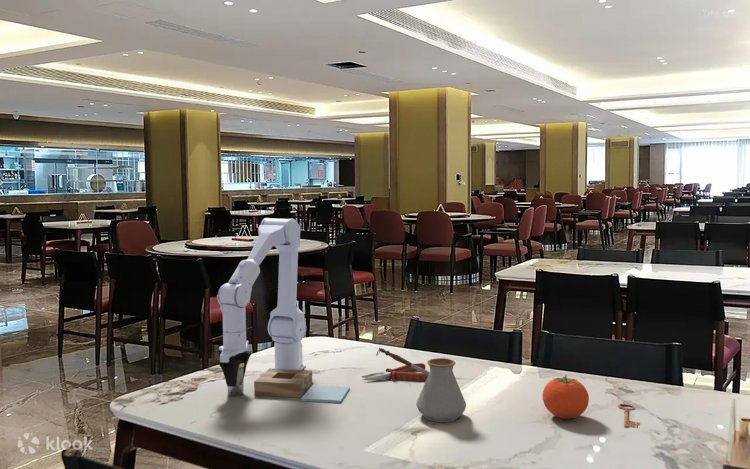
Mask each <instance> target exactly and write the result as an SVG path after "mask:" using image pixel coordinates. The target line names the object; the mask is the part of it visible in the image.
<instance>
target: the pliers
mask: <svg viewBox="0 0 750 469" xmlns="http://www.w3.org/2000/svg"><path fill="white" fill-rule="evenodd" d="M413 364H414V365H416V366H418V367H420V368H422V369H424V370H426V364H425V363H423V362H422V363H421V362H420V363H413ZM427 377H428V376H427V375H425V374H424V373H422V372H417V370H416V369H414V368H412V367H410V366H408V365H405V364H404V365H402V366H399V367H395V368H393V369H392V368H386V369H385V371H378V372H374V373H370V374H364V375H361V378H362V379H363V378H364V381H386V380H391V379H392V380H391V381H392V382H394V381H407V382H408V381H409V382H411V381H412V382H426V379H427Z"/></svg>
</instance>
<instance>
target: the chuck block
mask: <svg viewBox="0 0 750 469" xmlns="http://www.w3.org/2000/svg"><path fill="white" fill-rule="evenodd" d="M253 384H254V385H253V388H254V389H253V393H254V395H255V396H266V397H268V396H269V397H283V398H284V397H287V398H302V397H303V396H304V395H303V394H305V393H306V392H307V391H308V390H309V389H310V388H309V387H311V386H312V385H313V370H311V369H309V370H308V369H302V370H294V369H274V368H267V370H265V371H264V372H263V373H262V374H261V375H259V376H258V378H256V379H255V380H254V382H253Z"/></svg>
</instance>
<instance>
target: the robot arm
mask: <svg viewBox="0 0 750 469" xmlns="http://www.w3.org/2000/svg"><path fill="white" fill-rule="evenodd" d="M257 230H258V231H257V232H258V233H257V234H258V237H257V239H256V241H255V243H254V245H253V247H252V249H251V252H250V254H249V255H248V257H247V259H242V260H241V261H240V262H239V263H238V265H237V267H236V269H235V270H234V272H233V274H232V275H231V277H230V279H229V280H228V282H226V283H224V284H222V285H221V286H220V288H219V289H218V292H217V295H216V299H217V302H218V304H219V306H220V307H219V308H220V311H221V313H222V344H223V345H221V346H219V347H218V350H219V351H221V353H220V355H219V358H218V359H217V365H218V366H219V367H220V369H221V370H222V374H223V376H224V380H225V384H226V386H227V387H228V386H231V387H235V386H236V383H237V374H238V369H239V365H240V363H241V361H242V362H244V367H243V376H244V377H245V374H246V370H247V365H248V363H249V359H250V357H251V355H252V351H251V350H248V349H249V348H250V347H249V340H247V321H246V320H247V318H246V317H247V315H246V312H247V311H246V309H247V308H246V306H247V305H248V304H249V302H250V300H251V296H252V294H251V293H252V290H253V288H252V287H253V286H254V284H255V282H256V280H257V278H258V277H259V275H260V273H261V268H260V265H261V263H262V262H263V261H264V259H265V258H266V256H267V255H268V253H270V251H271V249H272V248H273V247H274V248H276V249H277V251H278V252H279V254H278V255H279V256H278V259H279V260H278V280H277V282H278V283H277V285H278V286H277V288H278V289H277V306H276V307H275V308H274V309H272V311H270V314H269V315H270V316H269V320H268V324H267V331H268V335H269V336H270V337H271V340H272V341H274V368H273V369H294V370H304V368H305V367H307V366H306V364H305V363H304V362H303V343H302V340H303V338H304V337H305V335H306V332H307V325H306V324H307V323H306V320H305V319H306V318H305V313H304V312H303V311H302V310H301V309H300V308H299V307H297V293H298V292H297V291H298V289H297V288H298V264H299V262H298V260H299V248H300V246H301V225H300V224H299V223H298V221H297V220H296V219H295V218H270V217H265V218H263V219H262V220H261V222H260V225H259V226H258V228H257Z"/></svg>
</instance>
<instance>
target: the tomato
mask: <svg viewBox="0 0 750 469" xmlns="http://www.w3.org/2000/svg"><path fill="white" fill-rule="evenodd" d="M541 396H542V397H541V398H542V402H543V405H544V407H545V409H547V411H549V413H550V414H552V415H553V416H555V417H558V418H560V419H564V420H566V419H568V420H570V419H574V418H577V417H579V416H581V415H582V414H583V413H584V412H586V410H587V408H588V407H589V401H590V398H589V392H588V390H587V389H586V387H585V386H584V385H583V384H582V382H580V381H578V379H575V378H570V377H567V374H565V376H562V377H555V378H552V379H551V380H550V381H549V382H547V383H546V385H545V386H544V387H543V390H542V394H541Z"/></svg>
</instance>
